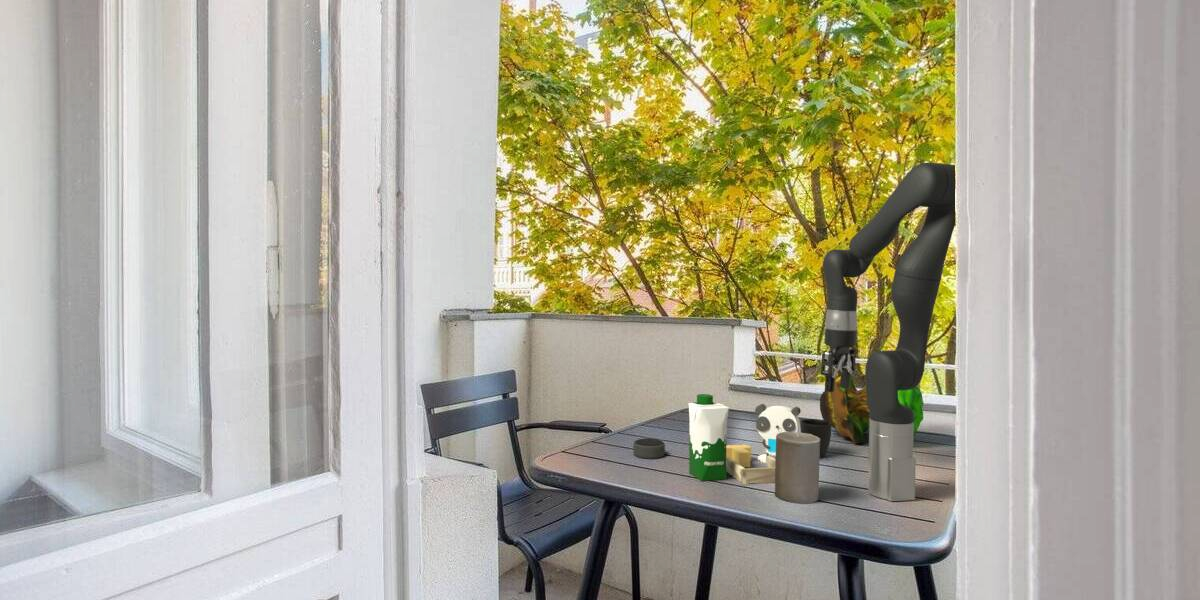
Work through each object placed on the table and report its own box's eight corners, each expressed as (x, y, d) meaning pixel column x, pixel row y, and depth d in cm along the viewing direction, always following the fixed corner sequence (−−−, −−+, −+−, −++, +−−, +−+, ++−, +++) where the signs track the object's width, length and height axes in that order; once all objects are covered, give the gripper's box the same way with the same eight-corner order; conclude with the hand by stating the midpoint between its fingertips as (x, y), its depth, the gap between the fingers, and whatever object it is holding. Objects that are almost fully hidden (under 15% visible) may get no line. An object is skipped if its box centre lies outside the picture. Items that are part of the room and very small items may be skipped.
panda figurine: (750, 462, 165) (751, 407, 165) (760, 452, 175) (761, 400, 175) (796, 468, 160) (797, 412, 159) (803, 458, 170) (804, 404, 169)
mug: (815, 447, 181) (816, 416, 181) (836, 459, 169) (836, 425, 169) (789, 448, 180) (790, 416, 180) (808, 459, 168) (808, 425, 168)
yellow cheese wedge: (758, 467, 161) (759, 452, 161) (730, 468, 159) (730, 453, 159) (746, 459, 169) (746, 444, 169) (719, 460, 167) (719, 445, 167)
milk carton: (715, 469, 158) (716, 393, 158) (732, 480, 150) (733, 399, 149) (684, 472, 156) (685, 394, 156) (699, 483, 147) (700, 400, 147)
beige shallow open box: (788, 482, 149) (789, 467, 149) (742, 484, 147) (742, 469, 147) (769, 469, 159) (769, 455, 159) (725, 471, 157) (726, 457, 157)
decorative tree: (836, 462, 202) (936, 451, 190) (820, 444, 181) (931, 430, 168) (822, 384, 215) (914, 369, 202) (805, 359, 193) (907, 340, 181)
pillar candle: (766, 495, 139) (767, 430, 138) (787, 486, 145) (789, 424, 145) (806, 507, 132) (808, 439, 131) (826, 496, 138) (828, 431, 138)
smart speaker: (640, 461, 166) (640, 446, 166) (628, 452, 175) (628, 439, 174) (669, 458, 169) (670, 444, 169) (657, 450, 177) (657, 436, 177)
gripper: (842, 330, 149) (838, 396, 150) (867, 327, 158) (863, 389, 159) (813, 327, 154) (810, 390, 155) (839, 324, 164) (836, 384, 165)
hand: (837, 389), depth 157 cm, fingers open, 8 cm apart
